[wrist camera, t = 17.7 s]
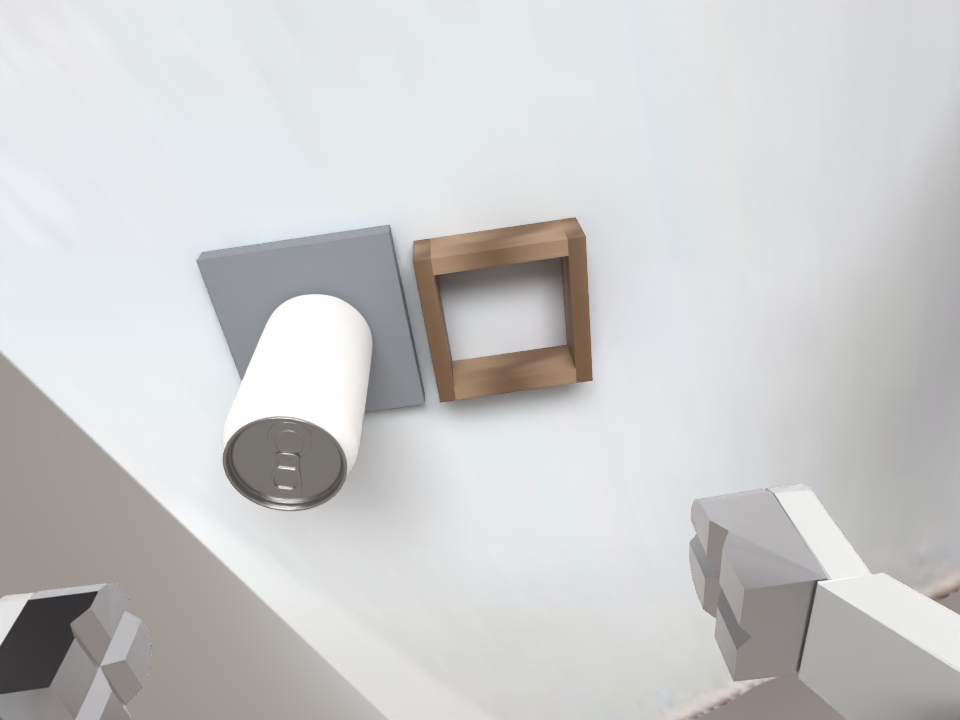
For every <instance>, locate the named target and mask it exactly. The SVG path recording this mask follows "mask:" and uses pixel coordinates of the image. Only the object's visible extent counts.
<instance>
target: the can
mask: <svg viewBox="0 0 960 720" xmlns="http://www.w3.org/2000/svg"><path fill="white" fill-rule="evenodd" d="M372 347H373V342H372V335H371V331H370V328H369V326H368V324H367V322H366V320H365V319H364V318H363V316H362V315H361V314H360V313H359V312H358V311H357V310H356V309H355V308H354V307H352V306H351V305H350V304H348V303H347V302H345V301H343V300H341V299H339V298H336V297H333V296H329V295H322V294H308V295H301V296H297V297H294V298H291V299H289V300H287V301H286V302H284V303H282V304H281V305H280V306H279V307H278V308H277V309H276V310H275V311H274V312H273V313H272V315H271V316H270V318H269V320H268V322H267V324H266V326H265V328H264V331H263V333H262V335H261V337H260V340H259V342H258V344H257V347H256V349H255V352H254V354H253V356H252V359H251V361H250V363H249V366H248V368H247V370H246V373H245V375H244V378H243V380H242V382H241V385H240V387H239V390H238V392H237V394H236V397H235V399H234V402H233V404H232V407H231V409H230V412H229V414H228V417H227V420H226V423H225V426H224V430H223V447H224V453H223V466H224V470H225V473H226V476H227V478H228V480H229V481H230V483H231V484H232V485H233V487H234V488H235V489H236V490H237V491H238V492H239V493H240V494H242V495H243V496H244V497H246V498H247V499H249V500H250V501H252V502H254V503H256V504H258V505H261V506H264V507H267V508H270V509H275V510H282V511H299V510H306V509H310V508H313V507H316V506H319V505H321V504H323V503H325V502H327V501H328V500H330V499H331V498H332V497H333V496H335V495H336V494H337V493H338V491H339V490H340V489H341V487H342V486H343V484H344V482H345V479H346V476H347V475H348V474H349V473H350V471H351V470H352V468H353V466H354V464H355V462H356V459H357V456H358V452H359V446H360V440H361V433H362V426H363V419H364V412H365V404H366V397H367V389H368V381H369V374H370V366H371V358H372Z"/></svg>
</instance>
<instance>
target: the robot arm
mask: <svg viewBox="0 0 960 720" xmlns="http://www.w3.org/2000/svg"><path fill="white" fill-rule="evenodd" d="M691 521H692V524H693V526H694V528H695V530H696V533H697V534H696V536H695V537H694V538H693V539H692V540H691V541H690V544H689V561H690V567H691V574H692V579H693V583H694V586H695V589H696V593H697V595H698V598H699V600H700V603H701V605H702V608H703V609H704V610H705V611H706V612H708V613H709V614H711V615H712V616H713V617H715V618H716V627H715V639H716V641H717V644H718V646H719V648H720V651H721V653H722V655H723V658H724V660H725V662H726V665H727V667H728V669H729V672H730V674H731V676H732V679H733V681H742V680H751V679H760V678H769V677H778V676H786V675H796V674H799V676H798V678H799V679H800V680H801V681H803V682H804V683H805V684H806V685H807V686H808V687H809V688H811V689H812V690H813V691H814V692H815V693H816V694H818V695H819V696H820V697H821V698H823V700H825V701H826V702H827V703H828V704H829V705H830V706H831V707H833V708H834V709H835V710H836V711H837V712H838V713H840V714H841V715H842V716H843V717H844V718H845V719H846V720H960V615H958V614H957V613H955V612H953V611H951V610H950V609H948V608H946V607H944V606H943V605H941V604H939V603H937V602H935V601H934V600H932V599H930V598H928V597H926V596H925V595H923V594H921V593H919V592H917V591H916V590H914V589H912V588H910V587H908V586H907V585H905V584H903V583H901V582H899V581H898V580H896V579H894V578H892V577H890V576H889V575H887V574H885V573H876V574H872V573H871V572H870V570H869V569H868V568H867V566H866V565H865V563H864V562H863V561H862V559H861V558H860V557H859V555H858V554H857V552H856V551H855V550H854V548H853V547H852V545H851V544H850V543H849V541H848V540H847V538H846V537H845V536H844V534H843V533H842V532H841V530H840V529H839V527H838V526H837V525H836V523H835V522H834V520H833V519H832V518H831V516H830V515H829V513H828V512H827V511H826V509H825V508H824V507H823V505H822V504H821V502H820V501H819V500H818V498H817V497H816V495H815V494H814V493H813V491H812V490H811V488H810V487H808V486H806V485H805V484H803V483H800V484H793V485H787V486H780V487H773V488H767V489H765V490H764V489H760V490H753V491H746V492H740V493H733V494H727V495H720V496H714V497H707V498H701V499H695V500H694V502H693V504H692V508H691ZM128 601H129V598H128V597H127V595H126V594H125V592H124V591H123V590H122V588H121V586H120V585H119V584H114V583H113V584H112V583H106V584H98V585H88V586H80V587H71V588H62V589H54V590H45V591H39V592H34V593H25V594H16V595H8V596H4V597H3V598H1V599H0V720H131V717H130V714H129V711H128V709H127V706H126V704H127V703H128V702H129V701H130V700H131V699H132V698H133V697H134V696H135V695H136V694H137V693H138V692H139V691H140V690H141V689H142V688H143V686H144V684H145V681H146V678H147V675H148V672H149V669H150V662H151V650H152V645H151V641H150V637H149V632H148V630H147V629H146V626H145V625H144V623H143V621H142V620H141V619H139V618H137V617H136V616H134V615H132V614H130V613H128V612H126V611H125V608H126V606H127V603H128Z"/></svg>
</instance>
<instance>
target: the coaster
mask: <svg viewBox="0 0 960 720" xmlns="http://www.w3.org/2000/svg"><path fill="white" fill-rule="evenodd" d="M196 261H197V264H198V266H199V269H200V272H201V274H202V277H203V280H204V282H205V285H206V288H207V290H208V293H209V295H210V298H211V301H212V303H213V306H214V309H215V311H216V314H217V317H218V319H219V322H220V325H221V327H222V330H223V333H224V335H225V338H226V340H227V343H228V346H229V348H230V351H231V354H232V356H233V359H234V362H235V364H236V367H237V370H238V372H239V375H240V377H241V380H243V378H244V375H245V373H246V370H247V368H248V366H249V363H250V361H251V359H252V356H253V354H254V352H255V349H256V347H257V344H258V342H259V340H260V337H261V335H262V333H263V331H264V328H265V326H266V324H267V322H268V320H269V318H270V316H271V315H272V313H273V312H274V311H275V310H276V309H277V308H278V307H279V306H280V305H281V304H282V303H284V302H286V301H287V300H289V299H291V298H294V297H297V296H301V295H308V294H322V295H329V296H333V297H336V298H339V299H341V300H343V301H345V302H347V303H348V304H350V305H351V306H352V307H354V308H355V309H356V310H357V311H358V312H359V313H360V314H361V315H362V316H363V318H364V319H365V320H366V322H367V324H368V326H369V328H370V331H371V335H372V342H373V347H372V358H371V366H370V374H369V381H368V389H367V397H366V404H365V412H364V413H366V412H373V411H379V410H386V409H393V408H400V407H407V406H414V405H421V404H425V393H424V388H423V383H422V378H421V374H420V369H419V364H418V359H417V354H416V350H415V345H414V340H413V335H412V330H411V326H410V321H409V316H408V311H407V306H406V302H405V297H404V292H403V287H402V282H401V278H400V273H399V268H398V263H397V258H396V254H395V249H394V244H393V239H392V234H391V230H390V225H385V226H378V227H372V228H365V229H358V230H351V231H344V232H338V233H331V234H324V235H317V236H310V237H304V238H297V239H290V240H283V241H276V242H270V243H263V244H256V245H249V246H242V247H235V248H229V249H222V250H215V251H208V252H202V253H201V255H200V256H199V258H198V259H197V260H196Z"/></svg>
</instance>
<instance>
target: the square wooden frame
mask: <svg viewBox="0 0 960 720" xmlns="http://www.w3.org/2000/svg"><path fill="white" fill-rule="evenodd" d="M556 257H561V262H562V277H563V291H564V305H565V320H566V334H567V345H563V346H556V347H549V348H542V349H535V350H528V351H521V352H515V353H508V354H501V355H494V356H487V357H480V358H473V359H466V360H459V361H452V357H451V352H450V346H449V341H448V335H447V329H446V324H445V318H444V312H443V307H442V301H441V295H440V290H439V284H438V278H437V275H440V274H447V273H454V272H461V271H467V270H474V269H481V268H488V267H495V266H502V265H508V264H515V263H522V262H529V261H536V260H543V259H550V258H556ZM413 265H414V270H415V275H416V280H417V286H418V291H419V296H420V301H421V306H422V311H423V316H424V321H425V327H426V332H427V337H428V342H429V347H430V352H431V357H432V362H433V368H434V373H435V378H436V383H437V388H438V393H439V398H440V402H447V401H454V400H460V399H467V398H474V397H481V396H488V395H495V394H502V393H509V392H516V391H523V390H530V389H537V388H544V387H551V386H558V385H565V384H572V383H578V382H585V381H592V380H593V379H592V358H591V337H590V317H589V296H588V275H587V254H586V236H585V234H584V232H583V231H582V229H581V227H580V225H579V223H578V221H577V219H576V218H569V219H562V220H555V221H548V222H541V223H535V224H528V225H521V226H514V227H507V228H500V229H494V230H487V231H480V232H473V233H466V234H459V235H453V236H446V237H439V238H432V239H425V240H419V241H414V246H413Z"/></svg>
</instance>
